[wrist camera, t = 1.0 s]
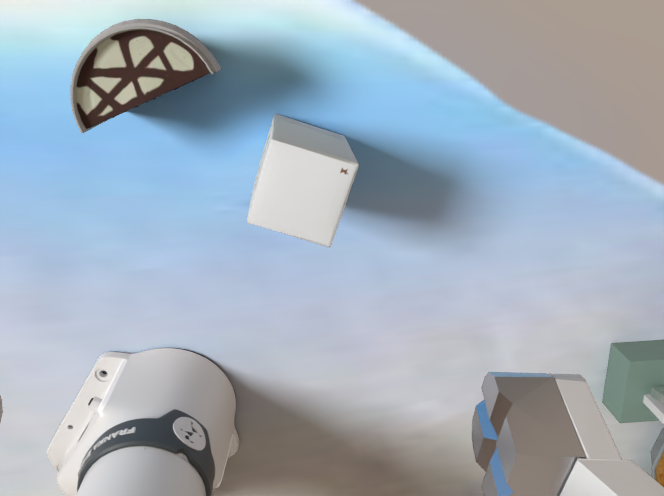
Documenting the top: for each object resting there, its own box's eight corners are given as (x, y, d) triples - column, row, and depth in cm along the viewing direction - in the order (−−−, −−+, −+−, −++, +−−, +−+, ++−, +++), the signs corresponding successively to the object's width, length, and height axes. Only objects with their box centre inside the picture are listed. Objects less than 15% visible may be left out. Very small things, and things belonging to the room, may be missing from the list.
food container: (198, -4, 53) (180, -10, 44) (230, 63, 55) (219, 71, 46) (74, 53, 54) (31, 60, 45) (110, 117, 56) (75, 136, 47)
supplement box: (273, 111, 57) (271, 134, 45) (347, 135, 58) (363, 164, 47) (251, 183, 59) (243, 223, 48) (322, 205, 61) (332, 249, 49)
